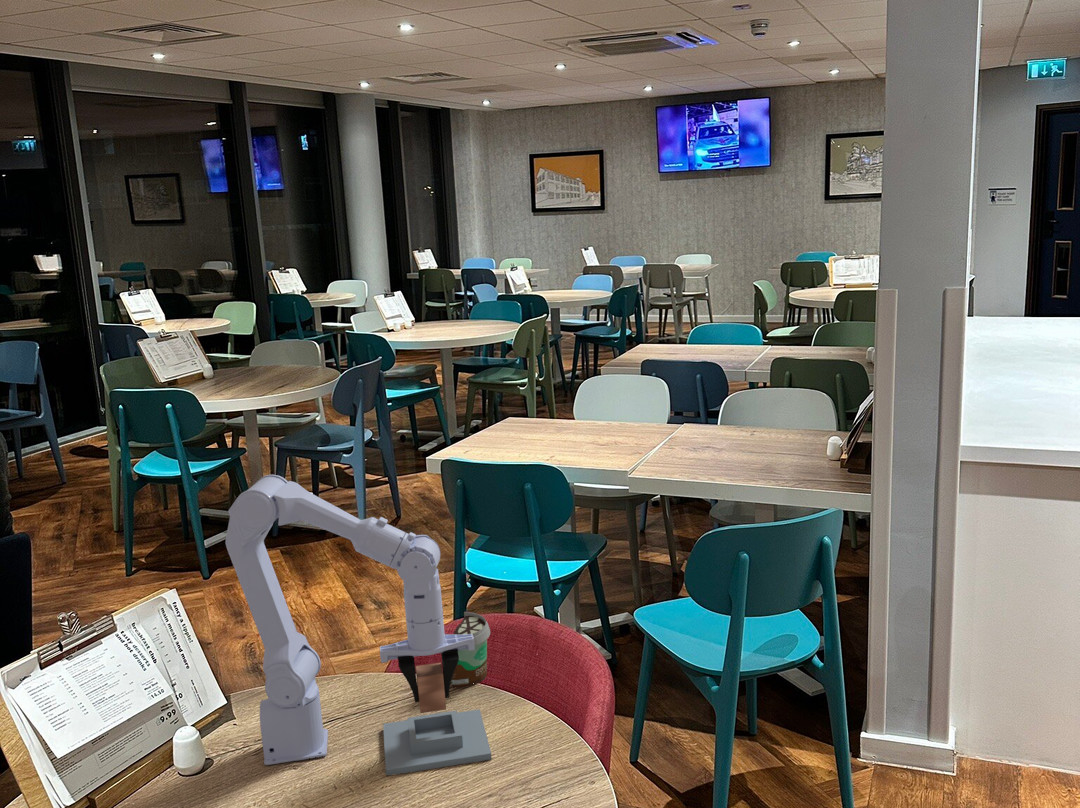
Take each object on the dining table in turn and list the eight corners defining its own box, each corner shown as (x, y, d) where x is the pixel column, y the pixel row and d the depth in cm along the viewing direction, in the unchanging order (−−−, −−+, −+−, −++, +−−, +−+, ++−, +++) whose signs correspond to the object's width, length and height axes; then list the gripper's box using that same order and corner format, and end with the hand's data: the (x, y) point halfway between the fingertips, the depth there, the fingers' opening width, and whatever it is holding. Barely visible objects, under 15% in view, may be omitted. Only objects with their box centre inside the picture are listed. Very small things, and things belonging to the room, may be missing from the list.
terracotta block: (420, 713, 148) (417, 677, 147) (418, 701, 152) (415, 666, 151) (446, 709, 149) (443, 673, 148) (443, 697, 153) (440, 662, 152)
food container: (483, 693, 167) (479, 640, 165) (449, 692, 168) (445, 639, 166) (500, 661, 179) (496, 611, 177) (468, 660, 180) (464, 610, 178)
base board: (386, 776, 143) (384, 757, 143) (383, 729, 157) (382, 712, 156) (491, 759, 146) (490, 741, 146) (480, 714, 160) (478, 698, 159)
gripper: (468, 600, 153) (474, 679, 155) (376, 612, 150) (384, 692, 153) (473, 617, 146) (479, 699, 148) (377, 630, 143) (385, 713, 146)
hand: (431, 697), depth 150 cm, fingers closed on terracotta block, 4 cm apart
